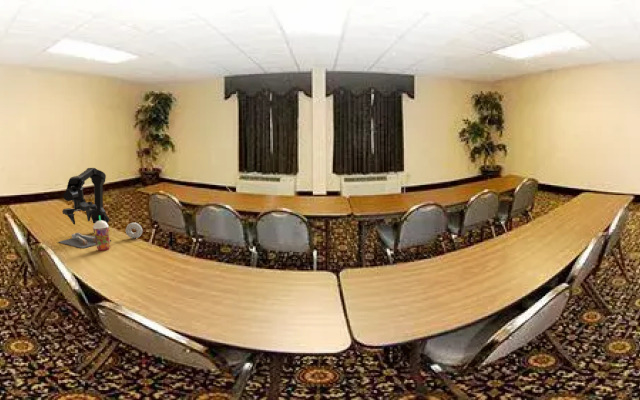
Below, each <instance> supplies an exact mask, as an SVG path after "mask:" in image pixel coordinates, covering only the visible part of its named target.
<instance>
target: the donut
mask: <svg viewBox="0 0 640 400" xmlns="http://www.w3.org/2000/svg"><path fill="white" fill-rule="evenodd" d="M132 229H135V231H136V232H133V231H132ZM125 233H126V234H125V235H127V236H128V237H129V238H131V239H138V238H140V237H141V236H142V234H143V228H142V225H140V223H138V222H130V223H129V224H127V226H126V227H125Z"/></svg>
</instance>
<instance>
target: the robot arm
mask: <svg viewBox="0 0 640 400" xmlns="http://www.w3.org/2000/svg"><path fill="white" fill-rule="evenodd" d="M89 178H90V179H91V180H90V181H91V183H92V185H93V188H94V190H93V191H94V203H93V202H92V201H87V202H86V199H85V198H84V191H83V190H84V189H85V187H84V185H85V183H86V182H85V181H87V180H88V179H89ZM106 178H107V175H106V173H105V172H104V171H102V170H100V169H97V168H95V167H88V168H86V169H85V170H84V171H82V172H81V173H79V174H78V175H74V176H71V177H69V180H68V182H67V186H66V189H65V192H63V199H64V200H65V201H67V202H71V201H72V202H73V206H72V208H71V207H70V208H69V207H68V208H63V209H62V215H65V216H67V217H68V218H69V220H70V221H71V223H72V224H73V225H76V220H75V219H76V218H75V215H76V214H75V212H80V211H82V212H85V214H86V219H87V222H90V221H92V223H93V224H95V222H97V221H99V216H100V219H101V220H103V221H105V222H106V223H107V224H108V223H109V222H110V217H109V216H108V215H107V213H106V210H105V209H104V198H103V197H104V195H103V193H104V190H103V189H104V188H103V187H104V186H103V185H104V184H105V183H106Z"/></svg>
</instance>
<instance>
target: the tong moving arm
mask: <svg viewBox="0 0 640 400" xmlns="http://www.w3.org/2000/svg"><path fill="white" fill-rule="evenodd" d="M75 237H76V240H78V241H79V242H81V243H83V244H84V245H87V240H85V239H83V238H81V237H80V236H78V235H75Z"/></svg>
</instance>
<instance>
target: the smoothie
mask: <svg viewBox="0 0 640 400" xmlns="http://www.w3.org/2000/svg"><path fill="white" fill-rule="evenodd" d="M92 229H93V236H95V240H96V245H95V246H96V249H97V250H98V251H99V252H103V251H104V252H105V251H109V249H110V247H111V245H110V243H111V241H110V240H111V238H110V226H109V224H108V223H106V222H105V221H103V220H101V219H100V216H99V221H97V222H95V223H93V226H92Z"/></svg>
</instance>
